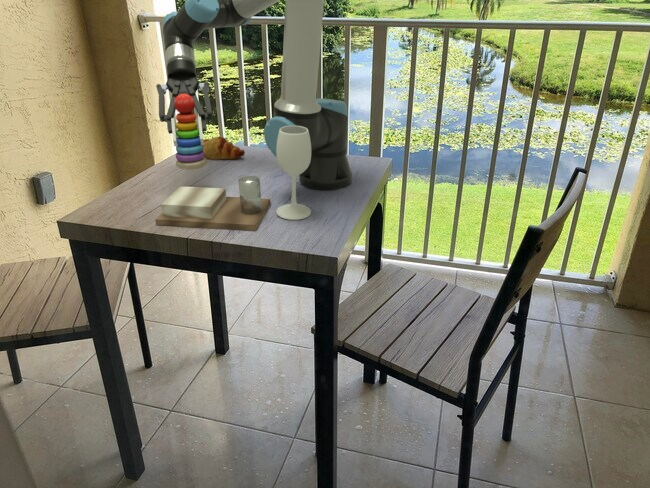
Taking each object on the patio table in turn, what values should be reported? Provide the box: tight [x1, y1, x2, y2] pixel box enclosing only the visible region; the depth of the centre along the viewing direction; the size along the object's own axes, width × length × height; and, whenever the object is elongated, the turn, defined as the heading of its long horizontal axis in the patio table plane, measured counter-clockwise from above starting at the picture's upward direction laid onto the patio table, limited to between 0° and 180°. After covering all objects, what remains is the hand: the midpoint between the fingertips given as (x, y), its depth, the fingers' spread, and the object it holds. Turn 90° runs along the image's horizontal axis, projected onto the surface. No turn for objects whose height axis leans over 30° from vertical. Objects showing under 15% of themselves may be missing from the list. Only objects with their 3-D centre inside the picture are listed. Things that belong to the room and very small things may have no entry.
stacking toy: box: [174, 94, 208, 171], centre depth 132 cm, size 8×8×19 cm
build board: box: [155, 185, 272, 232], centre depth 125 cm, size 24×16×4 cm, turn 83°
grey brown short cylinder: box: [238, 175, 262, 215], centre depth 123 cm, size 5×5×8 cm
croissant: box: [203, 135, 245, 160], centre depth 167 cm, size 21×10×8 cm, turn 68°
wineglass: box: [275, 126, 312, 221], centre depth 122 cm, size 9×9×21 cm
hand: (188, 142), depth 130 cm, fingers closed on stacking toy, 6 cm apart
